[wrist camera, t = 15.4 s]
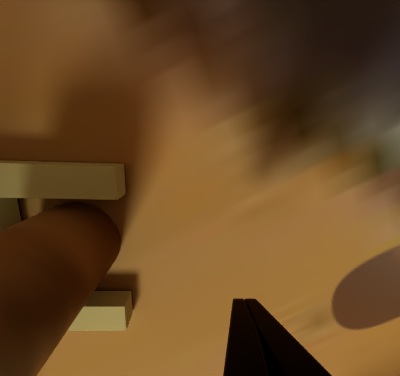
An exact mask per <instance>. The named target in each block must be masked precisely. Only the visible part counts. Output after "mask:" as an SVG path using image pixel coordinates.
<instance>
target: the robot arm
mask: <svg viewBox="0 0 400 376" xmlns="http://www.w3.org/2000/svg"><path fill="white" fill-rule="evenodd" d="M223 376H332V375H331V374H330V373H329V372H328V371H327V370H326V369H325V368H324V367H323V366H322V365H321V364H320V363H319V362H318V361H317V360H316V359H315V358H314V357H313V356H312V355H311V354H310V353H309V352H308V351H307V350H306V349H305V348H304V347H303V346H302V345H301V344H300V343H299V342H298V341H297V340H296V339H295V338H294V337H293V336H292V335H291V334H290V333H289V332H288V331H287V330H286V329H285V328H284V327H283V326H282V325H281V324H280V323H279V322H278V321H277V320H276V319H275V318H274V317H273V316H272V315H271V314H270V313H269V312H268V311H267V310H266V309H265V308H264V307H263V306H262V305H261V304H260V303H259V302H258V301H257V300H256V299H245V300H244V299H233V303H232V311H231V319H230V327H229V335H228V343H227V350H226V358H225V366H224V374H223Z"/></svg>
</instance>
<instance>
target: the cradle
mask: <svg viewBox="0 0 400 376" xmlns="http://www.w3.org/2000/svg"><path fill="white" fill-rule="evenodd" d="M125 194H126V191H125V174H124V164H116V163H78V162H40V161H2V160H0V231H1V230H3V229H6V228H8V227H10V226H12V225H15V224H17V223H19V222H21V217H20V211H19V206H18V201H17V198H50V199H101V200H118V199H119V198H121V197H122V196H123V195H125ZM131 316H132V295H131V291H94V292H93V293H92V295H91V296H90V298H89V299H88V301H87V302H86V304H85V305H84V307H83V308H82V310H81V311H80V313H79V314H78V315H77V317H76V318H75V320H74V321H73V323H72V324H71V326H70V327H69V329H68V330H67V331H126V330H127V327H128V324H129V321H130V319H131Z"/></svg>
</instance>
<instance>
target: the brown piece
mask: <svg viewBox="0 0 400 376" xmlns="http://www.w3.org/2000/svg"><path fill="white" fill-rule="evenodd" d="M119 250H120V236H119V232H118V229H117V227H116V225H115V224H114V222H113V221H112V220H111V218H110V217H109V216H108V215H107V214H106V213H104V212H103V211H102V210H100V209H98V208H96V207H94V206H92V205H89V204H86V203H81V202H68V203H63V204H60V205H57V206H55V207H53V208H51V209H48V210H46V211H44V212H42V213H39V214H37V215H35V216H33V217H30V218H28V219H26V220H24V221H21V222H19V223H17V224H15V225H12V226H10V227H8V228H6V229H3V230H1V231H0V376H37V374H38V373H39V371H40V370H41V368H42V367H43V365H44V364H45V362H46V361H47V360H48V358H49V357H50V355H51V354H52V352H53V351H54V349H55V348H56V346H57V345H58V343H59V342H60V340H61V339H62V337H63V336H64V335H65V333H66V332H67V330H68V329H69V327H70V326H71V324H72V323H73V321H74V320H75V318H76V317H77V315H78V314H79V313H80V311H81V310H82V308H83V307H84V305H85V304H86V302H87V301H88V299H89V298H90V296H91V295H92V293H93V292H94V290H95V289H96V288H97V286H98V285H99V283H100V282H101V280H102V279H103V277H104V276H105V274H106V273H107V271H108V270H109V268H110V267H111V266H112V264H113V263H114V261H115V260H116V258H117V256H118V254H119Z"/></svg>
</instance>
